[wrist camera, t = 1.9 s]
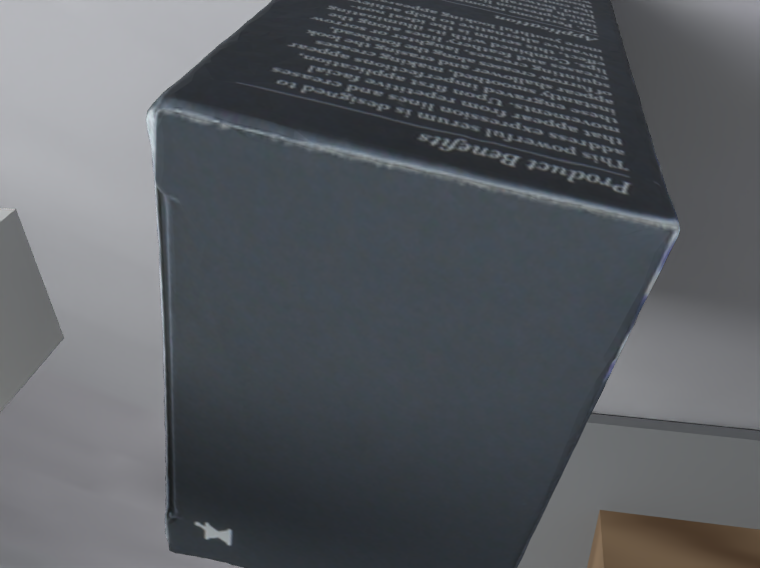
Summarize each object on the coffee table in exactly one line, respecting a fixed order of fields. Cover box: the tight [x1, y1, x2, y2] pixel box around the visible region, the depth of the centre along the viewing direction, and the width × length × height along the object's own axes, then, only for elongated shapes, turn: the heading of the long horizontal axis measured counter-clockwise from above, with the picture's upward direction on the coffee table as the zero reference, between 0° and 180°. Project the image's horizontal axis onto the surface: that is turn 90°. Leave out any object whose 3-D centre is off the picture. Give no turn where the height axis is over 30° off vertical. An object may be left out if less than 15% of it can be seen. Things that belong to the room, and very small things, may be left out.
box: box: [146, 0, 680, 568], centre depth 14 cm, size 8×6×11 cm
